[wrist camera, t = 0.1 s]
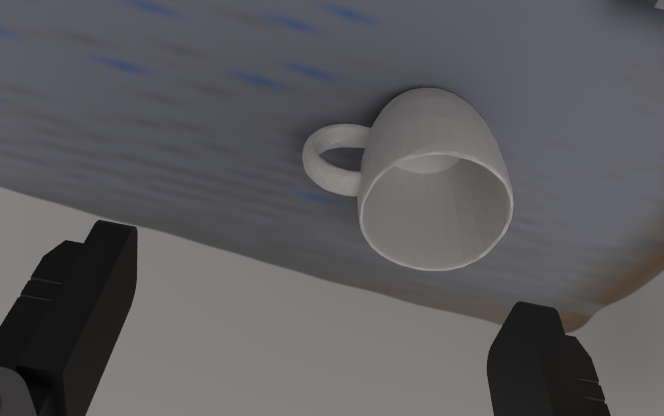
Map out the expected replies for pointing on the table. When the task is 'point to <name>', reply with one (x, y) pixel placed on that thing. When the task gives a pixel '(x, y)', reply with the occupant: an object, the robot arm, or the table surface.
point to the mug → (421, 180)
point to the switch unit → (657, 3)
